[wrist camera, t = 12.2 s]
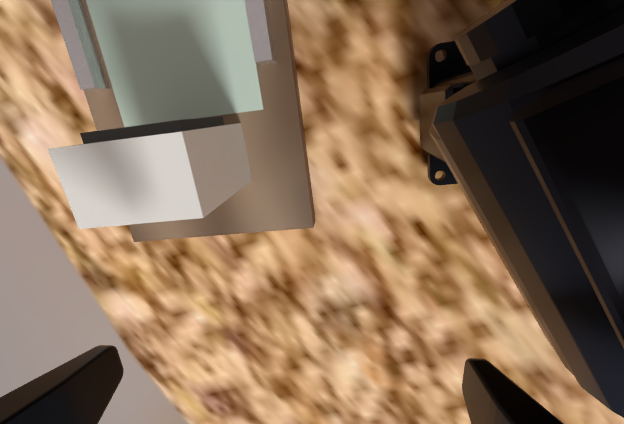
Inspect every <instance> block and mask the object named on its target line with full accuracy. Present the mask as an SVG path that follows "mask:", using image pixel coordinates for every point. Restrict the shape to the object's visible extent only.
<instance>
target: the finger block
mask: <svg viewBox="0 0 624 424" xmlns="http://www.w3.org/2000/svg"><path fill="white" fill-rule="evenodd" d="M80 134H81V137H82V140H83V143H84V144H81V145H74V146H67V147H59V148H52V149H48V150H49V153H50V155H51V158H52V161H53V163H54V166H55V168H56V171H57V174H58V176H59V179H60V181H61V184H62V186H63V189H64V192H65V194H66V197H67V199H68V202H69V205H70V207H71V210H72V212H73V215H74V217H75V220H76V223H77V225H78V228H79V229H86V228H97V227H108V226H119V225H131V224H142V223H153V222H165V221H176V220H187V219H199V218H204V217H205V216H207V215H208V214H209V213H211V212H212V211H213V210H214V209H216V208H217V207H218V206H220V205H221V204H222V203H223V202H225V201H226V200H227V199H229V198H230V197H231V196H232V195H234V194H235V193H236V192H237V191H239V190H240V189H241V188H243V187H244V186H245V185H246V184H248V183H249V182H250V181H252V179H251V174H250V168H249V163H248V158H247V153H246V147H245V142H244V137H243V132H242V126H241V123H237V124H230V125H224V121H223V117H211V118H197V119H183V120H174V121H167V122H160V123H152V124H145V125H138V126H130V127H123V128H116V129H108V130H101V131H93V132H86V133H80Z"/></svg>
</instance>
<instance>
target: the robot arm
mask: <svg viewBox="0 0 624 424" xmlns="http://www.w3.org/2000/svg"><path fill="white" fill-rule="evenodd" d="M437 51H441V52H442V53H443V54H444V58H443V60H442V61H441V62H437V61H436V60H435V53H436V52H437ZM420 141H421V148H422V149H423V150H425V151H426V152H428V178H429V180H430V181H431V182H432V183H434V184H436V185H447V184H459V186H460V188H461V189H462V191H463V193H464V195H465V196H466V198H467V200H468V202H469V203H470V205H471V207H472V209H473V210H474V212H475V214H476V216H477V217H478V219H479V221H480V223H481V224H482V226H483V228H484V230H485V231H486V233H487V235H488V237H489V238H490V240H491V242H492V244H493V245H494V247H495V249H496V251H497V252H498V254H499V256H500V258H501V259H502V261H503V263H504V265H505V266H506V268H507V270H508V272H509V273H510V275H511V277H512V279H513V280H514V282H515V284H516V286H517V287H518V289H519V291H520V293H521V294H522V296H523V298H524V300H525V301H526V303H527V305H528V307H529V308H530V310H531V312H532V314H533V315H534V317H535V319H536V321H537V322H538V324H539V326H540V328H541V329H542V331H543V333H544V335H545V336H546V338H547V339H548V341H549V342H550V344H551V345H552V347H553V349H554V350H555V352H556V353H557V355H558V356H559V358H560V359H561V361H562V362H563V364H564V365H565V367H566V368H567V369H568V370H569V371H570V372H571V373H572V374H573V375H574V376H575V378H576V380H577V381H578V383H579V384H580V386H581V387H582V388H583V389H585V390H586V391H587V392H588V393H590V394H591V395H592V396H594V397H595V398H596V399H597V400H599V401H600V402H601V403H603V404H604V405H605V406H606V407H608V408H609V409H610V410H612V411H613V412H615V413H616V414H618V415H620V416H622V417H624V0H505V1H504V2H503V3H501V4H500V5H498V6H497V7H496V8H494V9H493V10H491V11H490V12H488V13H487V14H486V15H484V16H483V17H481V18H480V19H478V20H477V21H476V22H474V23H473V24H471V25H470V26H469V27H467V28H466V29H464V30H463V31H461V32H460V33H459V34H457V35H456V36H455V40H454V41H452V42H446V43H440V44H437V45H435V46H434V47H433V48H432V49H430V51H429V53H428V55H427V89H426V90H424V91H423V92H422V94H421V95H420ZM437 171H442V172H443V175H442V177H441V178H439V179H436V178H435V173H436V172H437ZM122 376H123V366H122V363H121V360H120V357H119V354H118V350H117V349H116V347H114V346H108V345H100V346H97V347H95V348H93V349H91V350H89V351H87V352H85V353H83V354H82V355H79V356H78V357H76V358H74V359H72V360H70V361H68V362H66V363H64V364H62V365H61V366H59V367H57V368H55V369H53V370H51V371H49V372H47V373H45V374H44V375H42V376H40V377H38V378H36V379H34V380H32V381H30V382H28V383H27V384H25V385H23V386H21V387H19V388H17V389H15V390H13V391H11V392H10V393H8V394H6V395H4V396H2V397H0V424H98V422H99V420H100V418H101V417H102V415H103V413H104V411H105V409H106V407H107V405H108V403H109V401H110V400H111V398H112V396H113V394H114V392H115V390H116V389H117V387H118V384H119V383H120V381H121V379H122ZM462 390H463V396H464V399H465V403H466V407H467V410H468V414H469V417H470V421H471V424H563V423H562V422H561V421H560V420H558V419H557V418H556V417H555V416H554V415H552V414H551V413H550V412H549V411H548V410H546V409H545V408H544V407H543V406H542V405H540V404H539V403H538V402H537V401H536V400H534V399H533V398H532V397H531V396H530V395H528V394H527V393H526V392H525V391H524V390H522V389H521V388H520V387H519V386H518V385H516V384H515V383H514V382H513V381H512V380H510V379H509V378H508V377H507V376H506V375H504V374H503V373H502V372H501V371H500V370H498V369H497V368H496V367H495V366H493V365H492V364H491V363H490V362H489V361H487V360H485V359H477V358H469V359H467V360H466V362H465V367H464V375H463V383H462Z"/></svg>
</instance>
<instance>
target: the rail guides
mask: <svg viewBox="0 0 624 424" xmlns="http://www.w3.org/2000/svg"><path fill="white" fill-rule="evenodd" d="M51 2H52V5H53V8H54V11H55V14H56V17H57V20H58V23H59V26H60V29H61V32H62V35H63V38H64V41H65V44H66V47H67V50H68V53H69V56H70V59H71V62H72V65H73V68H74V71H75V74H76V77H77V80H78V83H79V86H80V89H81V90H93V91H98V90H104V89H110V86H109V82H108V79H107V76H106V73H105V69H104V66H103V63H102V59H101V56H100V53H99V50H98V46H97V43H96V40H95V37H94V33H93V30H92V27H91V24H90V20H89V17H88V14H87V10H86V7H85V4H84V1H83V0H51ZM245 6H246V12H247V18H248V24H249V30H250V36H251V42H252V48H253V54H254V60H255V62H256V63H258V64H260V65H264V64H271V63H277V60H276V53H275V46H274V39H273V32H272V25H271V19H270V12H269V5H268V0H245Z"/></svg>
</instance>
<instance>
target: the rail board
mask: <svg viewBox="0 0 624 424" xmlns="http://www.w3.org/2000/svg"><path fill="white" fill-rule="evenodd" d="M83 1H84V4H85V7H86V10H87V14H88V17H89V20H90V24H91V27H92V30H93V33H94V37H95V40H96V43H97V46H98V50H99V53H100V56H101V59H102V63H103V66H104V69H105V73H106V76H107V79H108V82H109V86H110V89H104V90H98V91H93V90H84V93H85V96H86V99H87V102H88V105H89V108H90V111H91V114H92V117H93V120H94V123H95V126H96V129H97V131H101V130H108V129H116V128H123V127H130V126H138V125H145V124H152V123H160V122H167V121H174V120H183V119H197V118H211V117H223V121H224V125H230V124H237V123H241V126H242V132H243V137H244V142H245V147H246V153H247V158H248V163H249V168H250V174H251V179H252V181H250V182H249V183H248V184H246V185H245V186H244V187H243V188H241V189H240V190H239V191H237V192H236V193H235V194H234V195H232V196H231V197H230V198H229V199H227V200H226V201H225V202H223V203H222V204H221V205H220V206H218V207H217V208H216V209H214V210H213V211H212V212H211V213H209V214H208V215H207V216H205V217H204V218H199V219H187V220H176V221H165V222H153V223H142V224H131V225H129V228H130V231H131V234H132V237H133V240H134V242H139V241H151V240H164V239H176V238H189V237H201V236H214V235H227V234H239V233H252V232H264V231H277V230H289V229H302V228H313V227H314V224H315V213H314V205H313V198H312V190H311V182H310V174H309V167H308V159H307V151H306V143H305V136H304V128H303V120H302V112H301V105H300V97H299V89H298V81H297V74H296V66H295V58H294V50H293V43H292V35H291V27H290V19H289V12H288V4H287V0H268V5H269V12H270V19H271V25H272V32H273V39H274V46H275V53H276V60H277V63H271V64H264V65H260V64H258V63H256V62H255V60H254V54H253V48H252V42H251V36H250V30H249V24H248V18H247V12H246V6H245V0H83Z"/></svg>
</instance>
